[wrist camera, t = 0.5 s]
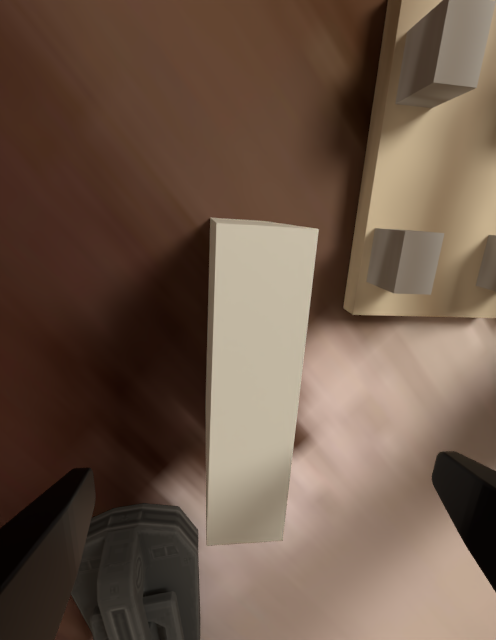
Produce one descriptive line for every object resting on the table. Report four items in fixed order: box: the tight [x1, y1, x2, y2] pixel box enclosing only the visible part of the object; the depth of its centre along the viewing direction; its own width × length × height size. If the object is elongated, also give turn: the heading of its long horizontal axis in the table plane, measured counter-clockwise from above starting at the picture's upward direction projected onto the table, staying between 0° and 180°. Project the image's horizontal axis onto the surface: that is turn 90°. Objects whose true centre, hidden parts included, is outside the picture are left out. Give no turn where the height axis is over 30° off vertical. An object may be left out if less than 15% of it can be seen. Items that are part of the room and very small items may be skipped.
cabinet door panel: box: [205, 218, 319, 546], centre depth 16 cm, size 3×12×10 cm, turn 176°
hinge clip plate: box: [343, 0, 496, 318], centre depth 18 cm, size 10×16×4 cm, turn 176°
